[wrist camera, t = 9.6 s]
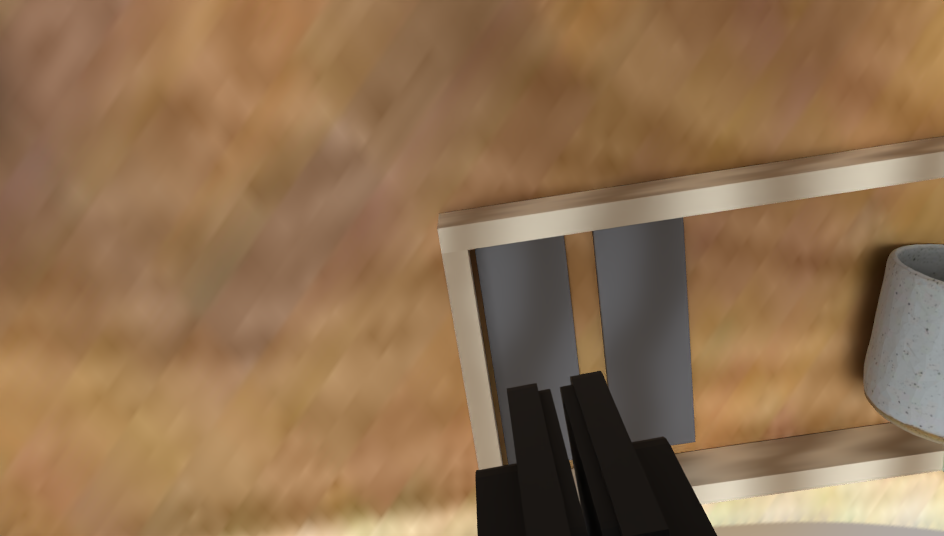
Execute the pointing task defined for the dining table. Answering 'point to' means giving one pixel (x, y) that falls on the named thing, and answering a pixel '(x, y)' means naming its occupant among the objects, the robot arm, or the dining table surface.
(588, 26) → the dining table surface
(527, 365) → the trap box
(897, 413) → the ceramic mug
